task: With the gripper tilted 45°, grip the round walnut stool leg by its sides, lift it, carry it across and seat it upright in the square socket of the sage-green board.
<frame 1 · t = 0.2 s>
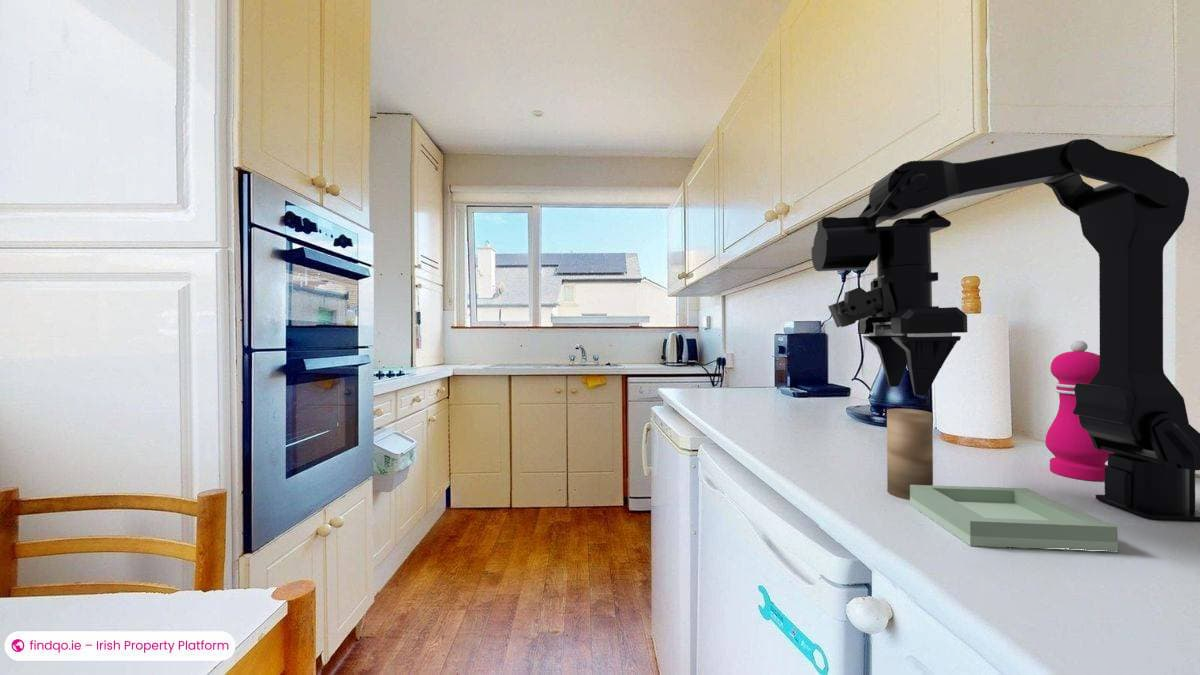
hand: (906, 390, 57), 14 cm above the countertop, tool pointing down, fingers open, 9 cm apart
pepper mill: (1079, 476, 67), on the countertop
socket board: (1000, 525, 50), on the countertop
walnut leg: (909, 494, 60), on the countertop
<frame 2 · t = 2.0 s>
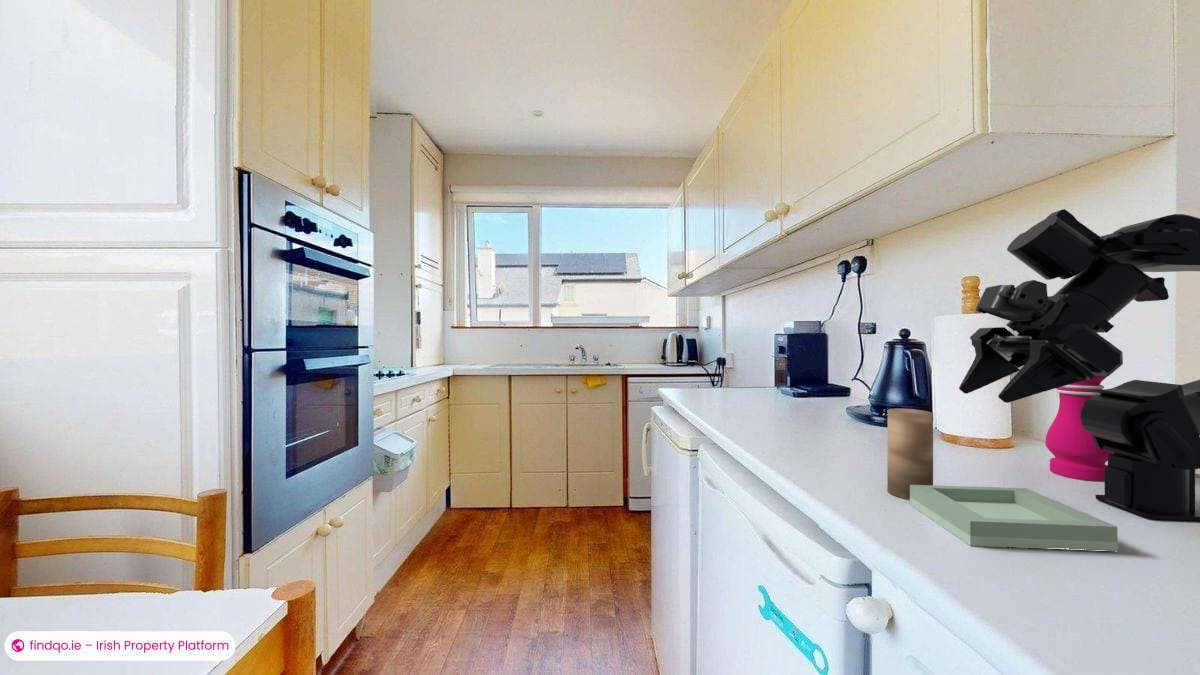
hand: (980, 395, 58), 13 cm above the countertop, tool tilted 45°, fingers open, 9 cm apart
nothing on the countertop moved.
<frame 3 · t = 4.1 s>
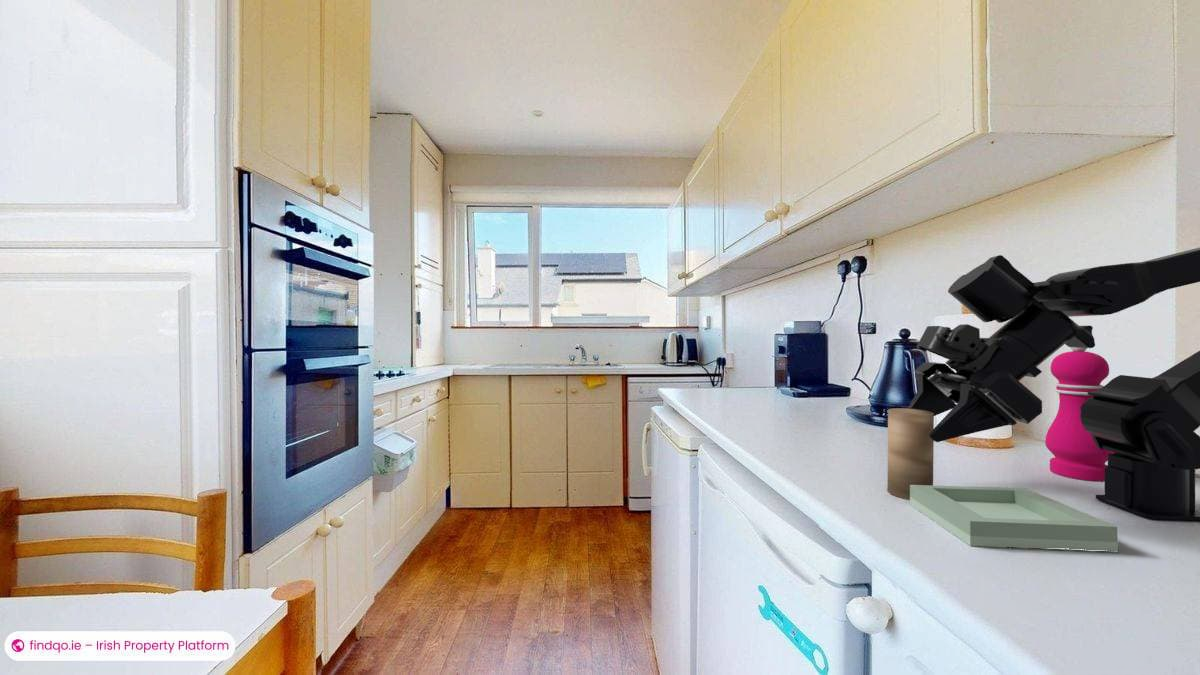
hand: (916, 431, 60), 8 cm above the countertop, tool tilted 45°, fingers open, 9 cm apart
nothing on the countertop moved.
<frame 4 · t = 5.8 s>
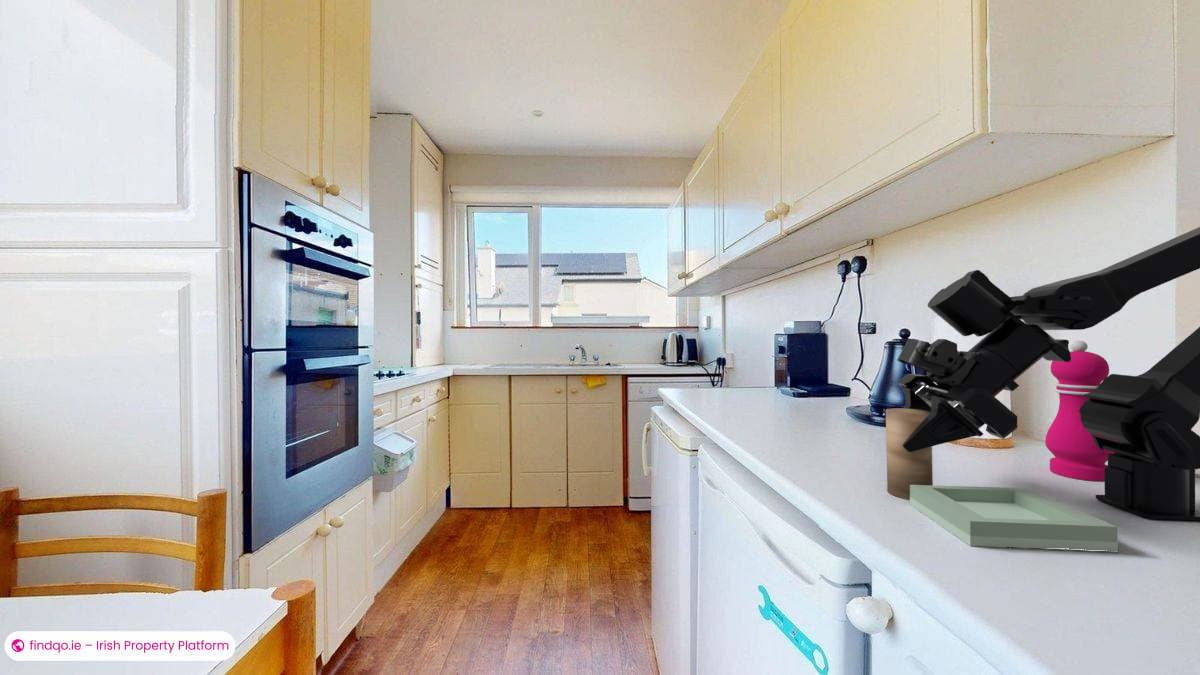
hand: (897, 444, 60), 7 cm above the countertop, tool tilted 45°, fingers closed on walnut leg, 5 cm apart
walnut leg: (909, 493, 60), on the countertop, touching gripper
everything else where it was.
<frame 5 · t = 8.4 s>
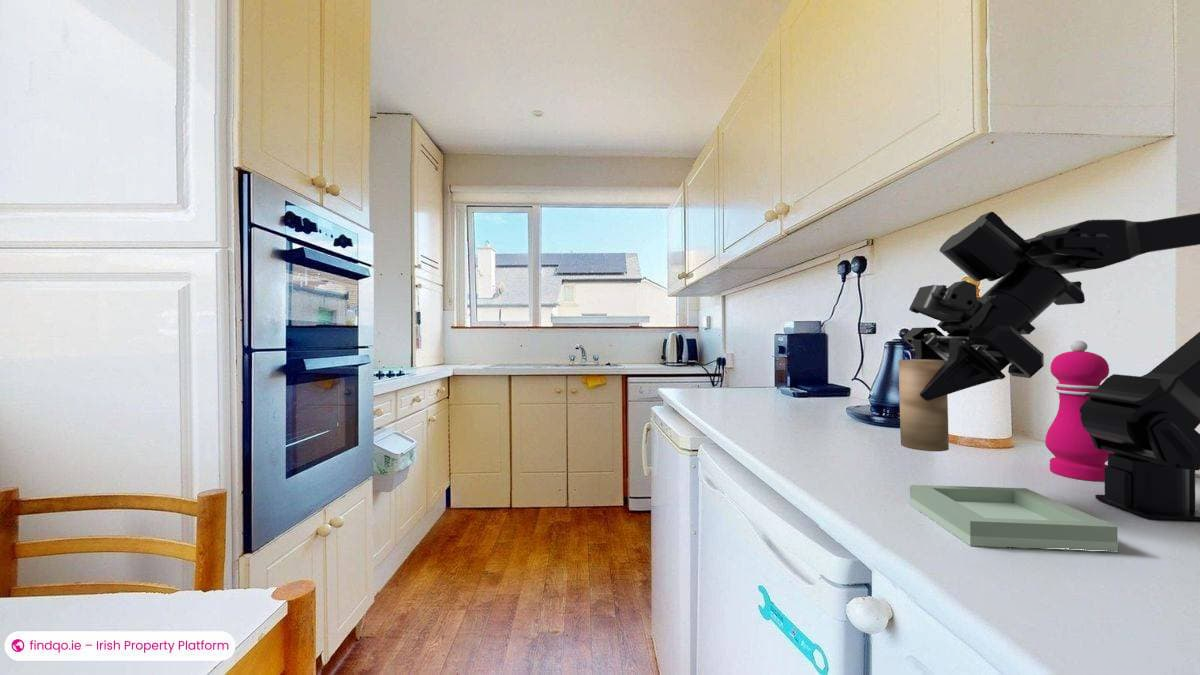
hand: (911, 395, 58), 13 cm above the countertop, tool tilted 45°, fingers closed on walnut leg, 5 cm apart
walnut leg: (924, 446, 58), point 7 cm above the countertop, touching gripper
everything else where it was.
when the fingers open (9 cm above the countertop, at t = 11.0 s): walnut leg drops 2 cm, resting on socket board.
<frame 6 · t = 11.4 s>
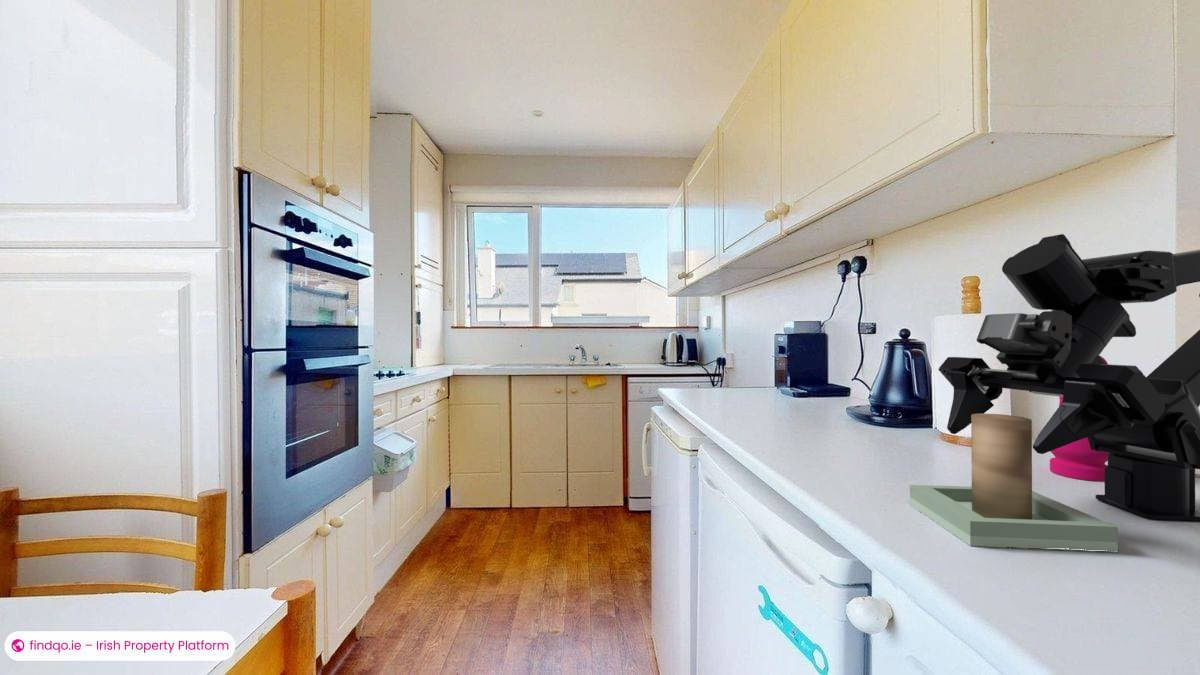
hand: (989, 440, 50), 10 cm above the countertop, tool tilted 45°, fingers open, 9 cm apart
walnut leg: (1001, 516, 50), point 1 cm above the countertop, touching socket board
everything else where it was.
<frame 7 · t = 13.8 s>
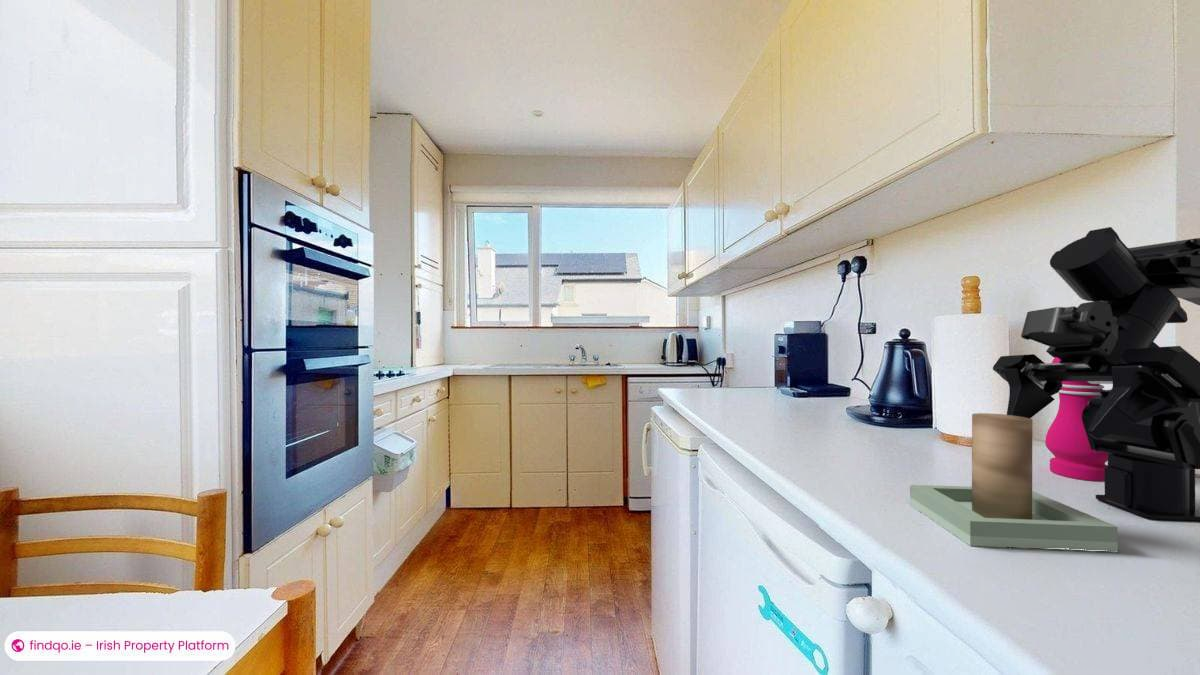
hand: (1047, 430, 52), 10 cm above the countertop, tool tilted 40°, fingers open, 9 cm apart
nothing on the countertop moved.
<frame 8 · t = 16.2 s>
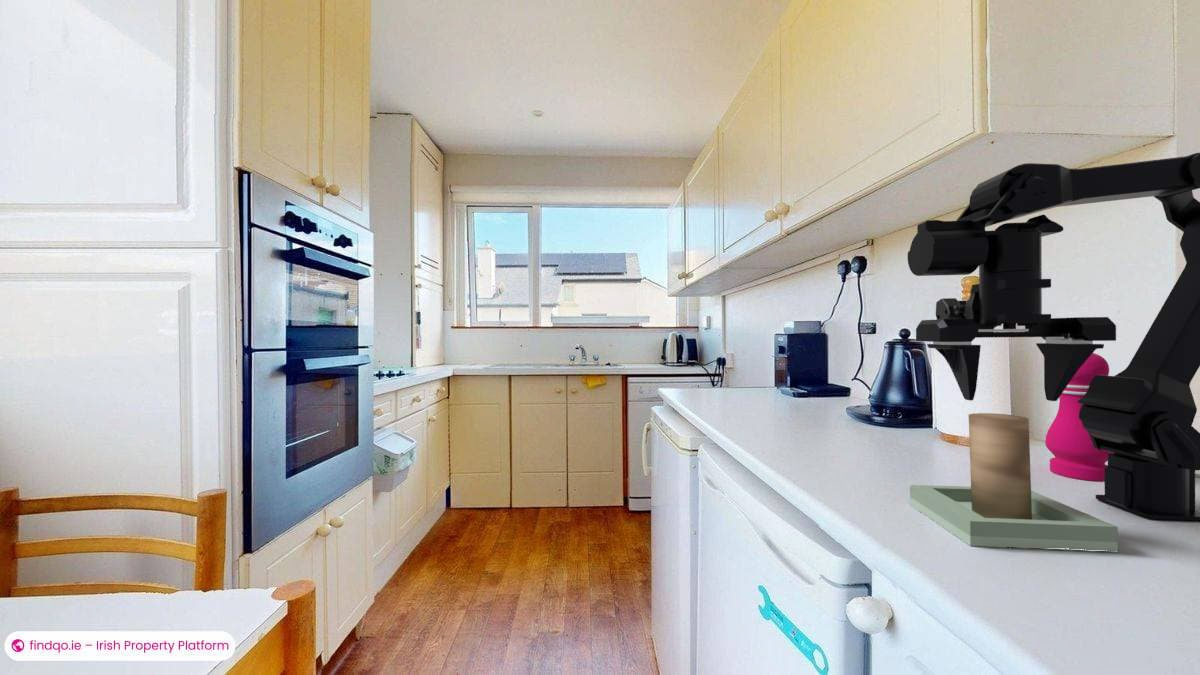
hand: (1009, 400, 56), 13 cm above the countertop, tool pointing down, fingers open, 9 cm apart
nothing on the countertop moved.
at the end: walnut leg 0.0 cm off-centre on the socket board, point 1.1 cm above the socket board's base; walnut leg tilted 1°; the gripper is holding nothing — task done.
